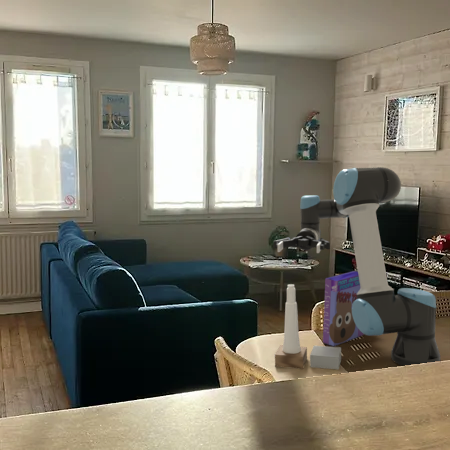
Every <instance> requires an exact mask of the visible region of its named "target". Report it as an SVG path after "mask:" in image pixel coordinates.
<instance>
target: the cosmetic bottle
mask: <svg viewBox="0 0 450 450" xmlns="http://www.w3.org/2000/svg"><path fill="white" fill-rule="evenodd" d="M284 311H285V312H284V333H283V343H282V345H283V349H282V351H283V352H285V353H288V354H296V353H299V352H300V351H301V348H300V347H301V344H300V343H301V342H300V335H299V316H298V303H297V301H296V287H295V284H294V283H293V284H292V283H290V284H287V288H286V302H285V309H284Z"/></svg>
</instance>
